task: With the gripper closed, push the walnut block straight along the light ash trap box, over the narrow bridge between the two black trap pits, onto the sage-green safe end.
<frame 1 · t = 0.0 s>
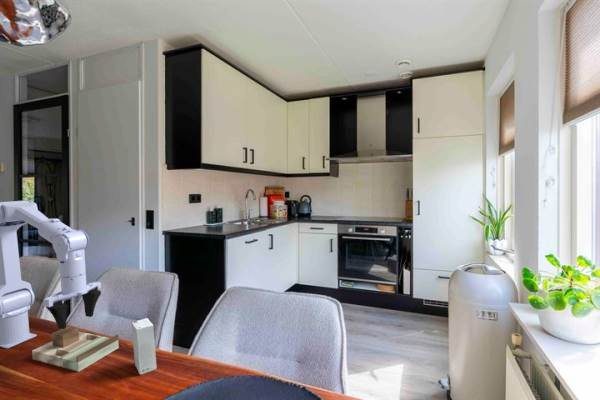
hand: (76, 321, 88), 10 cm above the table, tool pointing down, fingers open, 7 cm apart
trap box: (77, 353, 90), on the table
walnut block: (66, 342, 92), point 2 cm above the table, touching trap box
skincare box: (144, 367, 84), on the table
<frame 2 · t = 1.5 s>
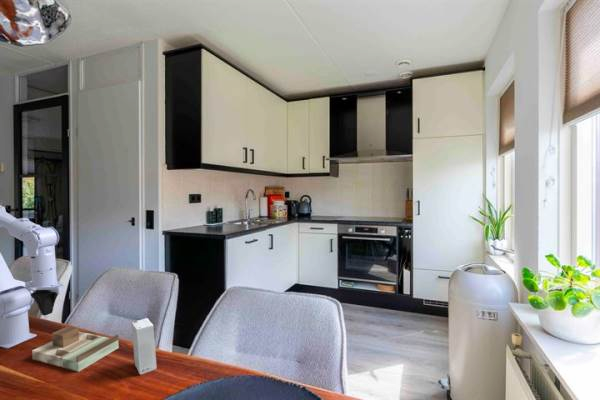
hand: (47, 313, 93), 10 cm above the table, tool pointing down, fingers closed
nothing on the table moved.
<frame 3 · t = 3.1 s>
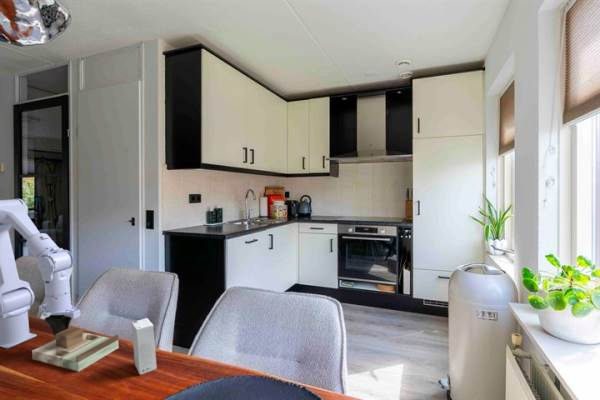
hand: (61, 338, 92), 3 cm above the table, tool pointing down, fingers closed
walnut block: (69, 343, 91), point 3 cm above the table, touching gripper
everything else where it was.
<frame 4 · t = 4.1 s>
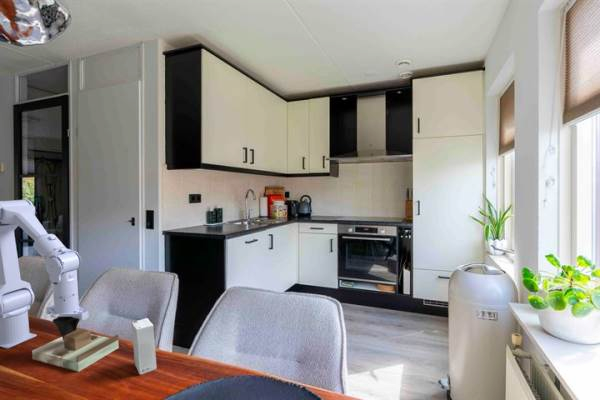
hand: (68, 340, 91), 3 cm above the table, tool pointing down, fingers closed
walnut block: (77, 345, 90), point 3 cm above the table, touching gripper, trap box
everything else where it was.
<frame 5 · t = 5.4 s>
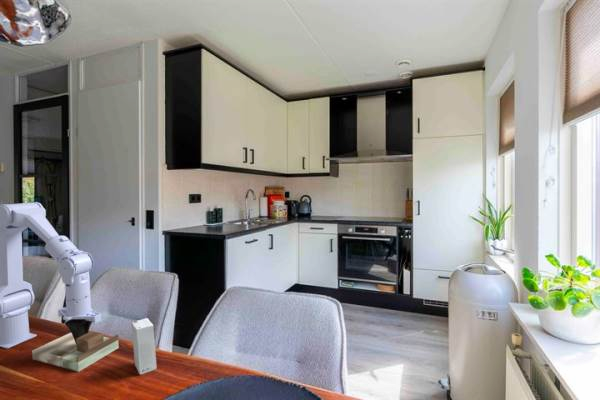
hand: (81, 343, 89), 3 cm above the table, tool pointing down, fingers closed
walnut block: (90, 348, 88), point 2 cm above the table, touching gripper, trap box
everything else where it was.
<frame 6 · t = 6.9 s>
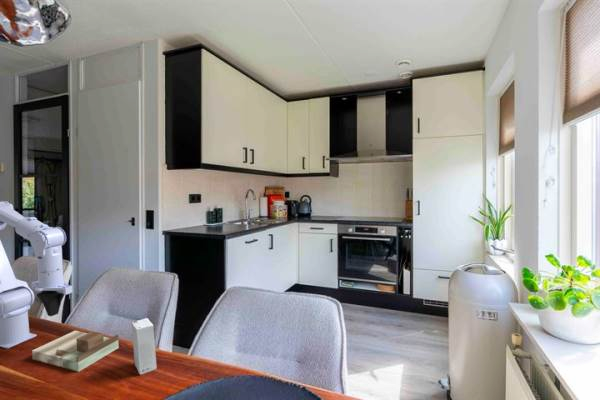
hand: (53, 314, 93), 10 cm above the table, tool pointing down, fingers closed
walnut block: (90, 348, 88), point 2 cm above the table, touching trap box
everything else where it was.
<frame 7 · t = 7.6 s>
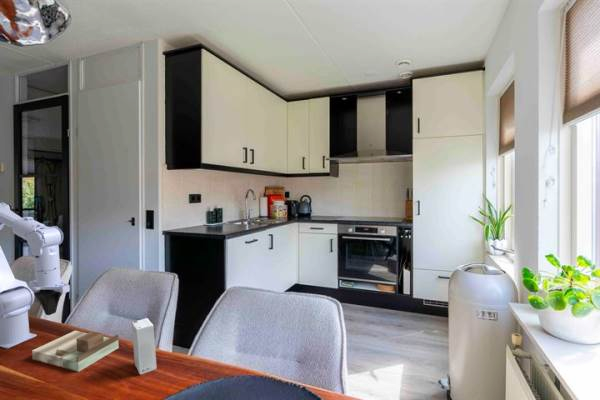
hand: (50, 313, 93), 10 cm above the table, tool pointing down, fingers closed
nothing on the table moved.
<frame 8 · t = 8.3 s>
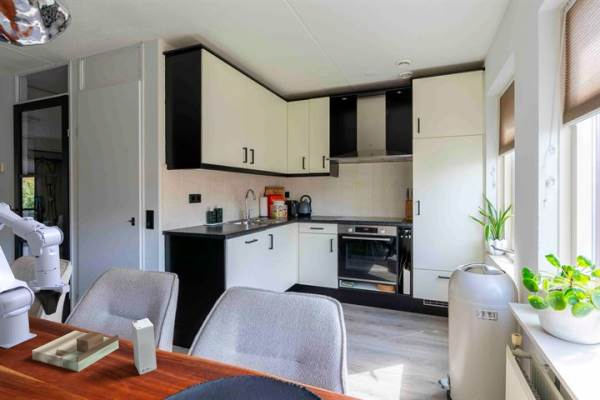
hand: (50, 313, 93), 10 cm above the table, tool pointing down, fingers closed
nothing on the table moved.
at the end: walnut block 0.5 cm from the target spot on the trap box, point 2.5 cm above the trap box's base; walnut block tilted 0°; walnut block moved 9.7 cm from its start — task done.
